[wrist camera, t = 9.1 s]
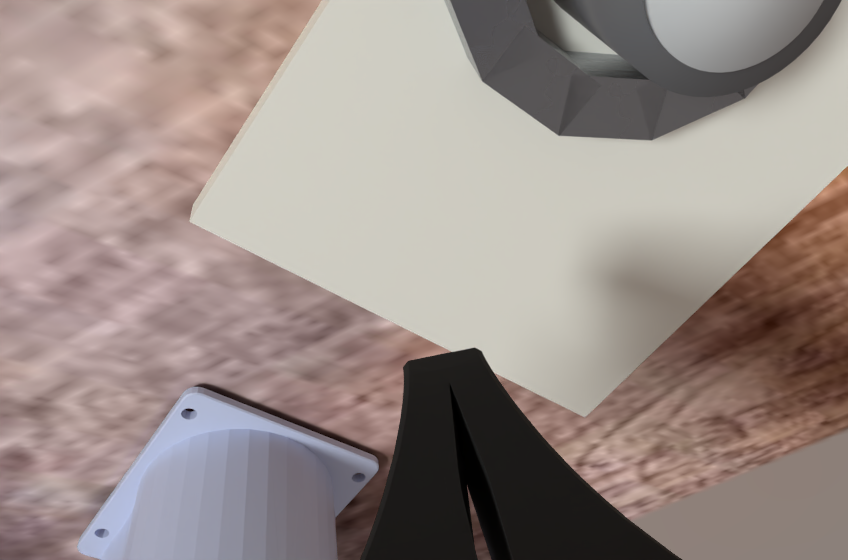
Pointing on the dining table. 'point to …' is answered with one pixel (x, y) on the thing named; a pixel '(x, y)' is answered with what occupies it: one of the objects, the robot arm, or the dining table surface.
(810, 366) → the dining table surface
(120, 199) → the dining table surface
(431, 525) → the robot arm
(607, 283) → the board
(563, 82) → the grey faceted ring
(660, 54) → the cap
